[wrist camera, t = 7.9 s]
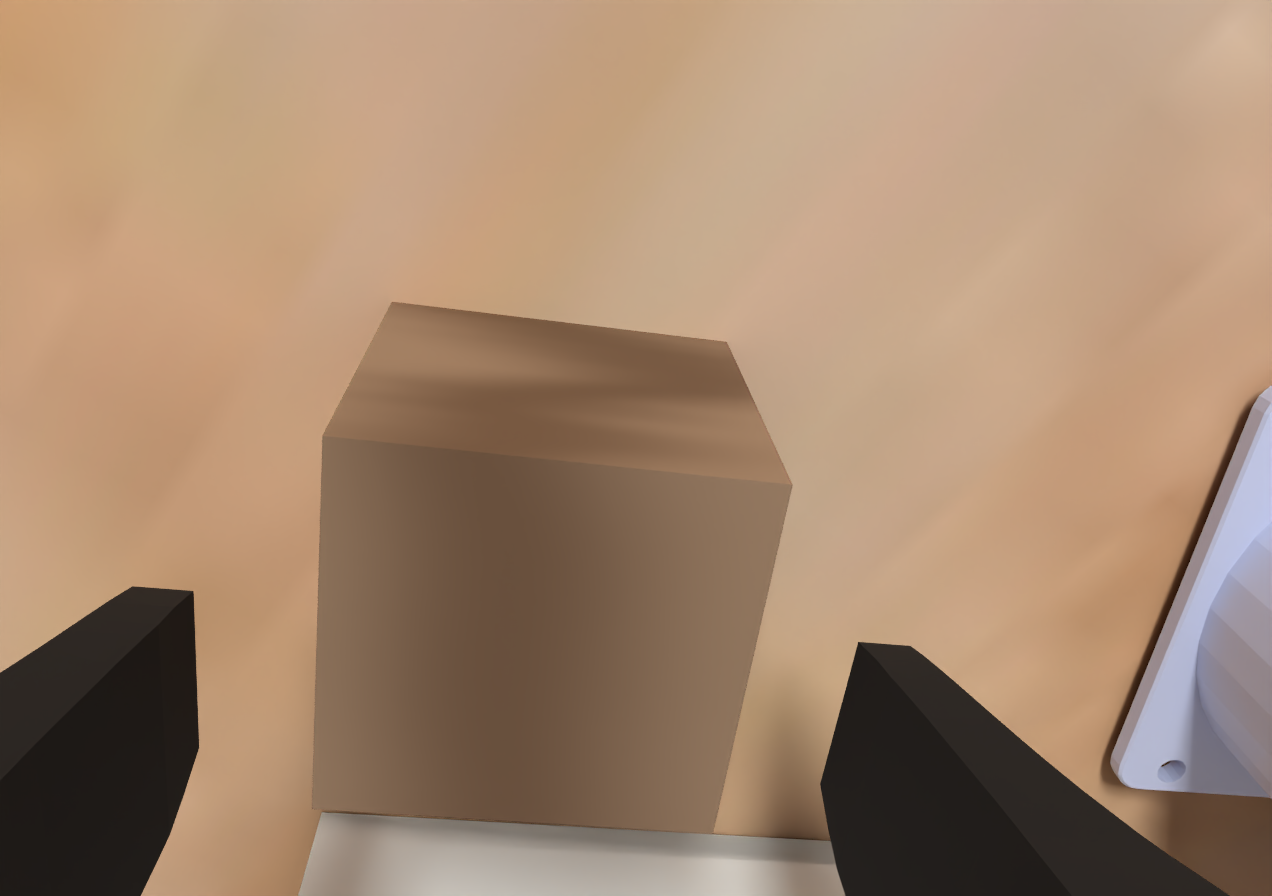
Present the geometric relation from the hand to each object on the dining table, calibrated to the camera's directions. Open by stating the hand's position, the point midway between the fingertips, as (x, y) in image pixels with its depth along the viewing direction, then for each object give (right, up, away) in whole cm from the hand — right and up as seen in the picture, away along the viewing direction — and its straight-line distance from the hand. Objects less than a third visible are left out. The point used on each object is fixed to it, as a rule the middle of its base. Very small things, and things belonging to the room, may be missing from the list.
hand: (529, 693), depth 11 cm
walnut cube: (0, +2, +5) cm, 6 cm away
